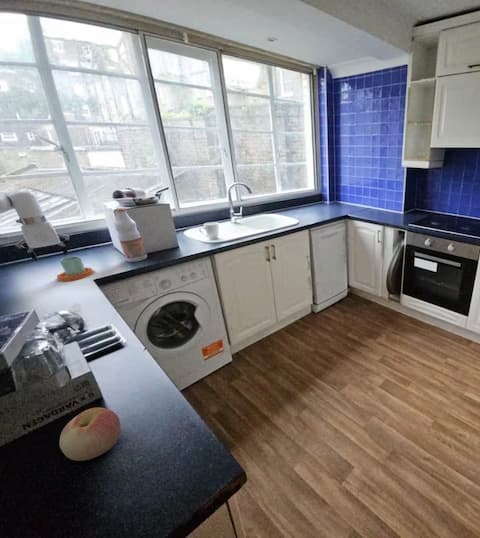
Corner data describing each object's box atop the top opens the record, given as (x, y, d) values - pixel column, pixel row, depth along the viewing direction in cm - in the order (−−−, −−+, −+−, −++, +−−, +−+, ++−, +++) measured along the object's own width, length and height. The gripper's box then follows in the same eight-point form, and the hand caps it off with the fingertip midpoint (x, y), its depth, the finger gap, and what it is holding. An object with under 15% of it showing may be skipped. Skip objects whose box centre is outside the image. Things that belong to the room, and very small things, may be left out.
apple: (106, 424, 64) (92, 397, 61) (136, 434, 62) (123, 406, 59) (59, 462, 57) (40, 434, 53) (91, 475, 54) (73, 446, 51)
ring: (59, 284, 134) (57, 280, 133) (58, 276, 142) (57, 272, 141) (94, 275, 142) (92, 272, 141) (91, 269, 150) (90, 265, 149)
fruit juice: (122, 262, 158) (103, 210, 147) (137, 256, 166) (120, 206, 155) (137, 263, 156) (118, 210, 145) (151, 256, 165) (135, 206, 154)
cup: (68, 280, 138) (60, 262, 134) (67, 276, 142) (59, 258, 139) (87, 275, 142) (80, 258, 139) (86, 271, 147) (79, 255, 143)
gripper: (3, 226, 120) (23, 264, 126) (61, 218, 130) (76, 254, 137) (5, 223, 125) (25, 260, 131) (61, 215, 136) (76, 250, 142)
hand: (51, 257), depth 134 cm, fingers open, 9 cm apart
